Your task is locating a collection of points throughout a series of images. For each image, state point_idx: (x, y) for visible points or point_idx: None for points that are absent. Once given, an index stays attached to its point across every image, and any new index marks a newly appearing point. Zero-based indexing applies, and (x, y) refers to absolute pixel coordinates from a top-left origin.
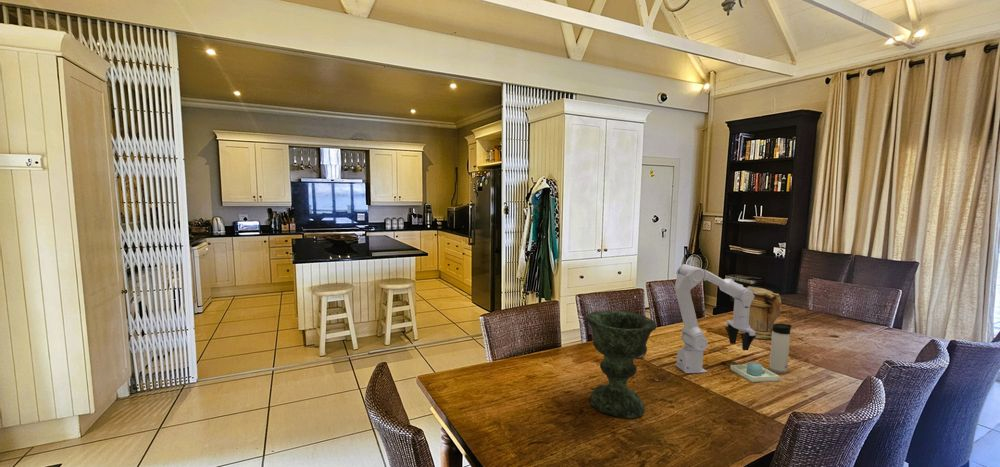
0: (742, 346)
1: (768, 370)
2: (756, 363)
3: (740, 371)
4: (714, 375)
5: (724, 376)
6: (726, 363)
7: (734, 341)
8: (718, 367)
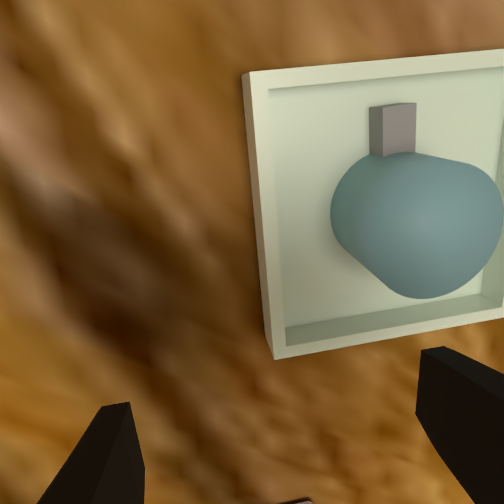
0: (457, 470)
1: (427, 59)
2: (421, 197)
3: (386, 333)
4: (352, 470)
5: (372, 422)
6: (124, 303)
7: (127, 453)
8: (221, 401)
